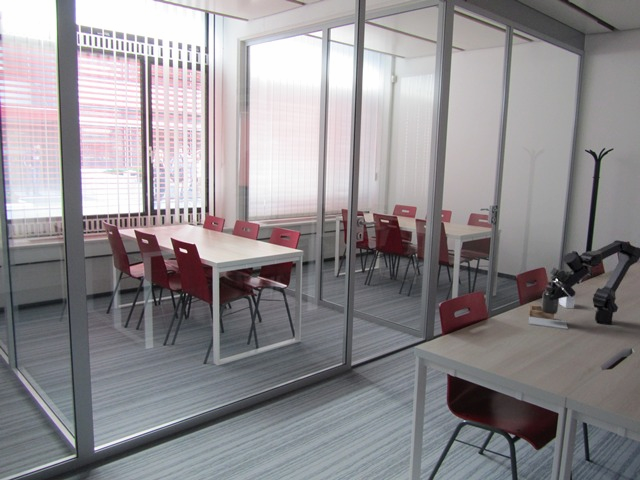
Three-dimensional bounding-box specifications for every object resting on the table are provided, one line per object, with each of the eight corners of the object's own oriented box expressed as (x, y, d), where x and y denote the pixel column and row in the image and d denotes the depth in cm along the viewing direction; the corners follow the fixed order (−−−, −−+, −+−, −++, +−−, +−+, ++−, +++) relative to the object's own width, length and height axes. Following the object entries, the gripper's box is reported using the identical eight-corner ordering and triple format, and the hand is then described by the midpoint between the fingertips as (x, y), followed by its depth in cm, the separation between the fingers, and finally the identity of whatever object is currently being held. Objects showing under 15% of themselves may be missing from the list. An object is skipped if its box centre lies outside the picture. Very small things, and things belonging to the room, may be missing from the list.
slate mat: (565, 322, 238) (565, 321, 238) (567, 329, 228) (568, 328, 228) (528, 317, 243) (528, 316, 243) (529, 324, 233) (529, 323, 233)
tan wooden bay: (551, 313, 252) (552, 307, 251) (553, 319, 241) (554, 313, 241) (528, 310, 255) (529, 304, 255) (529, 316, 245) (530, 310, 244)
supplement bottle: (554, 309, 238) (557, 284, 236) (559, 314, 231) (562, 289, 229) (539, 309, 239) (541, 284, 236) (543, 313, 232) (546, 288, 230)
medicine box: (573, 308, 261) (575, 292, 260) (565, 308, 261) (567, 291, 260) (566, 304, 269) (568, 288, 268) (558, 303, 269) (560, 287, 268)
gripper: (557, 258, 239) (530, 279, 243) (570, 266, 221) (541, 290, 224) (573, 275, 240) (546, 297, 243) (587, 285, 221) (558, 308, 225)
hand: (547, 297), depth 234 cm, fingers closed on supplement bottle, 6 cm apart
